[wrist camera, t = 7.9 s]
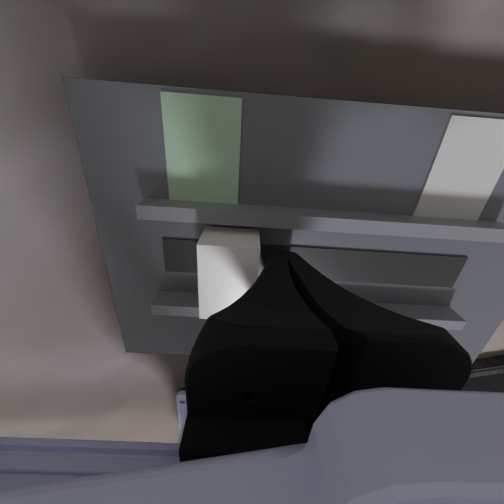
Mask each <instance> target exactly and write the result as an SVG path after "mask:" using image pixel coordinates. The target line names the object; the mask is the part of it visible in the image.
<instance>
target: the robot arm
mask: <svg viewBox="0 0 504 504" xmlns="http://www.w3.org/2000/svg"><path fill="white" fill-rule="evenodd" d="M471 369H472V360H471V357H470V355H469V353H468V352H467V351H466V350H465V349H464V348H463V347H462V346H461V345H460V344H459V343H458V342H457V341H456V340H455V338H454V337H453V336H452V335H451V334H450V333H449V332H448V331H447V330H446V329H445V328H443V327H439V326H436V325H433V324H430V323H426V322H423V321H420V320H416V319H413V318H410V317H407V316H404V315H401V314H399V313H396V312H393V311H391V310H388V309H385V308H383V307H381V306H378V305H376V304H374V303H372V302H369V301H367V300H365V299H363V298H361V297H359V296H357V295H355V294H353V293H351V292H349V291H348V290H346V289H344V288H343V287H341V286H339V285H338V284H336V283H334V282H333V281H331V280H330V279H329V278H327V277H326V276H324V275H323V274H322V273H320V272H319V271H318V270H316V269H315V268H314V267H313V266H311V265H310V264H309V263H308V262H307V261H305V260H304V259H303V258H302V257H301V256H299V255H298V254H297V253H296V252H290V251H274V250H270V251H268V252H267V259H266V264H265V266H264V268H263V270H262V272H261V273H260V275H259V277H258V278H257V280H256V281H255V282H254V284H253V285H252V286H251V287H250V288H249V289H248V290H247V291H246V292H245V293H244V294H243V295H242V296H241V297H240V298H239V299H238V300H236V301H235V302H234V303H232V304H231V305H230V306H228V307H226V308H224V309H222V310H221V311H219V312H217V313H215V314H213V315H211V316H209V317H208V319H207V321H206V322H205V324H204V326H203V327H202V329H201V331H200V333H199V335H198V337H197V339H196V341H195V344H194V346H193V348H192V351H191V354H190V357H189V361H188V364H187V368H186V373H185V391H179V392H178V393H177V396H176V402H177V410H178V419H179V428H180V435H179V439H178V443H156V442H128V441H100V440H72V439H44V438H15V437H0V504H504V393H500V392H477V391H461V389H462V388H463V387H464V385H465V384H466V382H467V380H468V378H469V376H470V375H471Z"/></svg>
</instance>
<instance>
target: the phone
mask: <svg viewBox="0 0 504 504" xmlns="http://www.w3.org/2000/svg"><path fill="white" fill-rule="evenodd" d="M461 391H477V392H500V393H504V356H497V357H490V358H483V359H476V360H475V361H474V362H473V364H472V369H471V375H470V376H469V378H468V380H467V382H466V384H465V385H464V387H463V388H462V389H461Z"/></svg>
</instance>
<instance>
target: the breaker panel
mask: <svg viewBox="0 0 504 504" xmlns="http://www.w3.org/2000/svg"><path fill="white" fill-rule="evenodd" d="M62 78H63V82H64V87H65V91H66V95H67V99H68V104H69V108H70V112H71V117H72V121H73V125H74V130H75V134H76V138H77V143H78V147H79V151H80V156H81V160H82V164H83V168H84V173H85V177H86V181H87V186H88V190H89V194H90V199H91V203H92V207H93V212H94V216H95V220H96V225H97V229H98V233H99V238H100V242H101V246H102V250H103V255H104V259H105V263H106V268H107V272H108V276H109V281H110V285H111V289H112V294H113V298H114V302H115V307H116V311H117V315H118V320H119V324H120V328H121V332H122V337H123V341H124V345H125V350H126V352H135V353H157V354H179V355H190V354H191V351H192V348H193V346H194V344H195V341H196V339H197V337H198V335H199V333H200V331H201V329H202V327H203V326H204V324H205V322H206V321H207V319H199V297H198V269H197V243H198V241H199V239H200V237H201V234H202V232H203V230H204V228H205V226H215V227H230V228H246V229H259V236H260V259H259V269H258V277H259V275H260V273H261V272H262V270H263V268H264V266H265V264H266V259H267V252H268V251H270V250H274V251H290V252H296V253H297V254H298V255H299V256H301V257H302V258H303V259H304V260H305V261H307V262H308V263H309V264H310V265H311V266H313V267H314V268H315V269H316V270H318V271H319V272H320V273H322V274H323V275H324V276H326V277H327V278H329V279H330V280H331V281H333V282H334V283H336V284H338V285H339V286H341V287H343V288H344V289H346V290H348V291H349V292H351V293H353V294H355V295H357V296H359V297H361V298H363V299H365V300H367V301H369V302H372V303H374V304H376V305H378V306H381V307H383V308H385V309H388V310H391V311H393V312H396V313H399V314H401V315H404V316H407V317H410V318H413V319H416V320H420V321H423V322H426V323H430V324H433V325H436V326H439V327H443V328H445V329H446V330H447V331H448V332H449V333H450V334H451V335H452V336H453V337H454V338H455V340H456V341H457V342H458V343H459V344H460V345H461V346H462V347H463V348H464V349H465V350H466V351H467V352H468V353H469V355H470V357H471V360H472V364H473V362H474V361H475V359H476V358H477V357H478V355H479V354H480V352H481V351H482V349H483V348H484V346H485V345H486V344H487V342H488V341H489V339H490V338H491V336H492V335H493V334H494V332H495V331H496V329H497V328H498V326H499V325H500V323H501V322H502V321H503V319H504V114H502V113H490V112H478V111H465V110H453V109H441V108H429V107H417V106H405V105H393V104H381V103H369V102H357V101H345V100H333V99H321V98H309V97H297V96H285V95H273V94H261V93H248V92H236V91H224V90H212V89H200V88H188V87H176V86H164V85H152V84H140V83H128V82H116V81H104V80H92V79H80V78H68V77H62Z"/></svg>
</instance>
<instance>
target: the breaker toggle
mask: <svg viewBox="0 0 504 504" xmlns="http://www.w3.org/2000/svg"><path fill="white" fill-rule="evenodd" d="M259 259H260V236H259V229H246V228H230V227H215V226H205V228H204V230H203V232H202V234H201V237H200V239H199V241H198V243H197V269H198V297H199V319H208V317H209V316H211V315H213V314H215V313H217V312H219V311H221V310H222V309H224V308H226V307H228V306H230V305H231V304H232V303H234V302H235V301H236V300H238V299H239V298H240V297H241V296H242V295H243V294H244V293H245V292H246V291H247V290H248V289H249V288H250V287H251V286H252V285H253V284H254V282H255V281H256V280H257V278H258V269H259Z"/></svg>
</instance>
